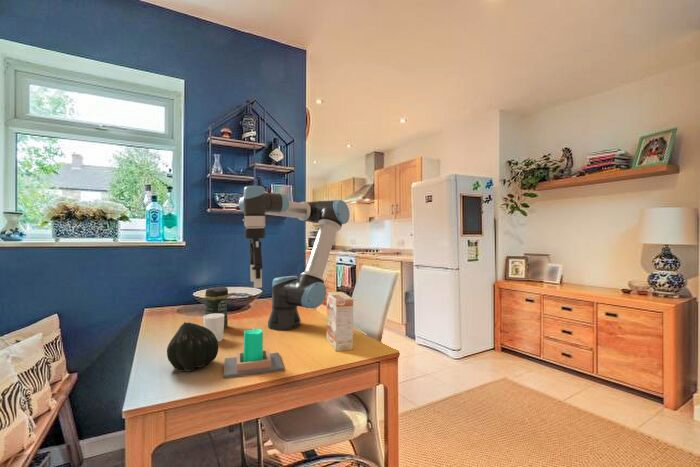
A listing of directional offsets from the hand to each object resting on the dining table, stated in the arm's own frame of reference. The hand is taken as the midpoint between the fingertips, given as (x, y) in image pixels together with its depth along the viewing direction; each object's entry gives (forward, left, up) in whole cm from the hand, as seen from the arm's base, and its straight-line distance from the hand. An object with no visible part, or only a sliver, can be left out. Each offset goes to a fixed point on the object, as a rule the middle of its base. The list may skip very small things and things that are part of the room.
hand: (256, 284), depth 123 cm
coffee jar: (+15, -33, -25) cm, 44 cm away
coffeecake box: (-32, +4, -25) cm, 40 cm away
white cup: (+15, -15, -25) cm, 33 cm away
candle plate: (+1, +15, -24) cm, 29 cm away
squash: (+20, +10, -25) cm, 33 cm away
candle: (+1, +15, -24) cm, 28 cm away
